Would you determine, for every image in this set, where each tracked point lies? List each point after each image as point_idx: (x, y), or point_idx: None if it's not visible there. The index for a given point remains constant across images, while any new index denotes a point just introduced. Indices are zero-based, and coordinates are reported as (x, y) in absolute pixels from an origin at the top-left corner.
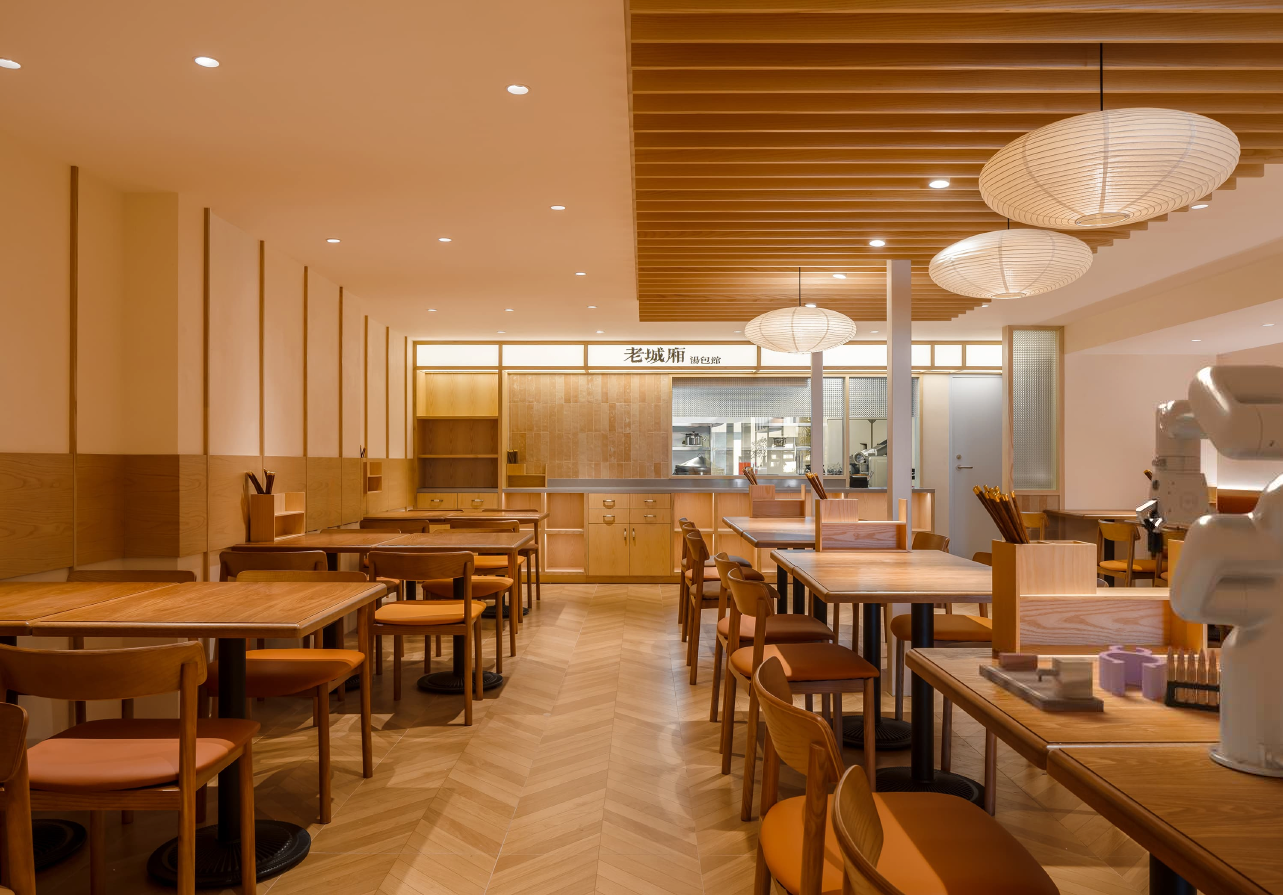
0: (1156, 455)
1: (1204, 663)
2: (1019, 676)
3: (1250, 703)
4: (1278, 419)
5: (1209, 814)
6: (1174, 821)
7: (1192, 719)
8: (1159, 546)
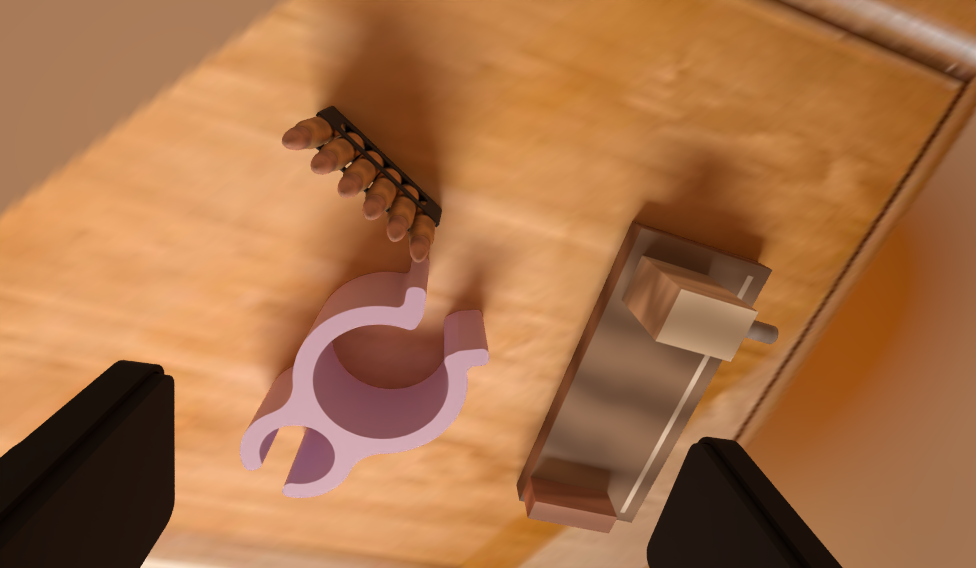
0: None
1: (351, 173)
2: (633, 434)
3: None
4: None
5: None
6: None
7: (485, 100)
8: (769, 489)
